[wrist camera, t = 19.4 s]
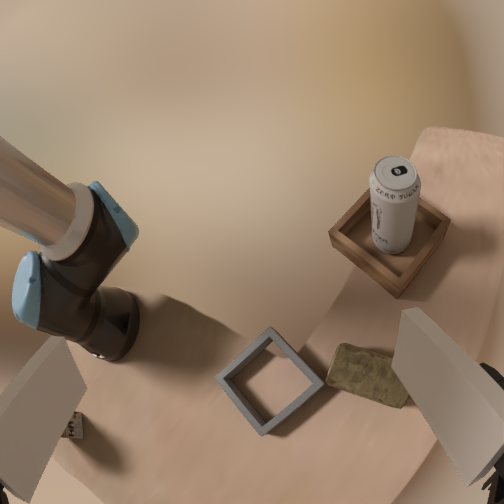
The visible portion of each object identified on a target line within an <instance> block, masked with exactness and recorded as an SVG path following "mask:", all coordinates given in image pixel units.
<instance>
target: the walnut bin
mask: <svg viewBox="0 0 504 504" xmlns="http://www.w3.org/2000/svg"><path fill="white" fill-rule="evenodd" d="M450 221H451V219H449V218H448V217H447V216H445V215H444V214H442V213H441V212H439V211H438V210H437V209H435V208H434V207H432V206H431V205H429V204H428V203H426V202H425V201H423V200H422V199H420V198H419V201H418V207H417V213H416V218H415V223H414V228H413V233H412V238H411V242H410V244H409V246H408V247H407V248H406V249H405V250H404V251H402V252H400V253H397V254H388V253H385V252H383V251H381V250H380V249H378V248H377V247H376V245H375V244H374V242H373V238H372V217H371V198H370V188H369V189H368V190H367V191H366V192H365V193H364V194H363V195H362V196H361V197H360V199H359V200H358V201H357V202H356V203H355V204H354V205H353V206H352V207H351V208H350V209H349V210H348V211H347V212H346V214H344V216H343V217H342V218H341V219H340V220H339V221H338V222H337V223H336V224H335V225H334V226H333V227H332V228H331V229H330V230H329V231H328V232H329V236H330V239H331V243H332V246H333V247H334V248H336V249H337V250H338V251H339V252H341V253H342V254H343V255H344V256H346V257H347V258H348V259H350V260H351V261H352V262H353V263H354V264H356V265H357V266H358V267H359V268H360V269H362V270H363V271H364V272H365V273H367V274H368V275H369V276H370V277H371V278H373V279H374V280H375V281H376V282H377V283H379V284H380V285H381V286H382V287H383V288H385V289H386V290H387V291H388V292H389V293H391V294H392V295H393V296H394V297H395V298H396V299H398V297H399V296H400V295H401V294H402V293H403V291H404V290H405V289H406V288H407V286H408V285H409V284H410V283H411V281H412V280H413V279H414V277H415V276H416V275H417V273H418V272H419V271H420V270H421V268H422V267H423V266H424V264H425V263H426V261H427V260H428V259H429V257H430V256H431V255H432V253H433V252H434V250H435V249H436V248H437V246H438V245H439V243H440V242H441V240H442V239H443V237H444V236H445V234H446V231H447V229H448V226H449V224H450Z"/></svg>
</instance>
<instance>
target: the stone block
mask: <svg viewBox="0 0 504 504" xmlns="http://www.w3.org/2000/svg"><path fill="white" fill-rule="evenodd" d="M392 360H393V358H390V357H387V356H385V355H382V354H379V353H376V352H373V351H370V350H367V349H363V348H360V347H356V346H353V345H350V344H347V343H342V344H340V345H339V346H338V348H337V349H336V352H335V355H334V356H333V359H332V361H331V365H330V367H329V370H328V373H327V378H326V381H325V382H326V383H327V384H328V385H330V386H332V387H335V388H337V389H340V390H343V391H346V392H349V393H352V394H355V395H358V396H361V397H364V398H367V399H370V400H373V401H376V402H378V403H381V404H384V405H387V406H390V407H394V408H399V409H401V408H402V407H403V406H404V404H405V403H406V401H407V399H408V397H409V396H410V394H409V393H408V391H407V390H406V388H405V387H404V385H403V384H402V382H401V381H400V379H399V378H398V376H397V375H396V373H395V372H394V370H393V369H392V367H391V365H392Z"/></svg>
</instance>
